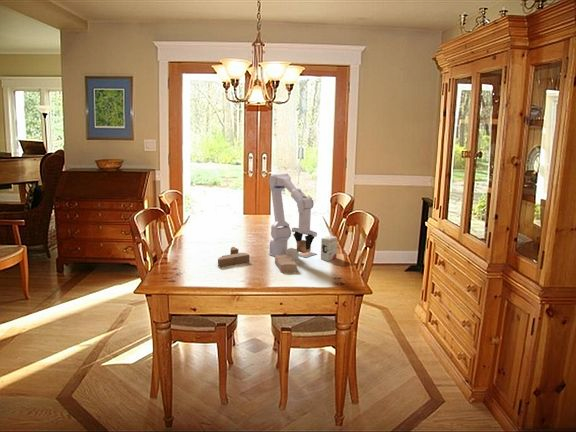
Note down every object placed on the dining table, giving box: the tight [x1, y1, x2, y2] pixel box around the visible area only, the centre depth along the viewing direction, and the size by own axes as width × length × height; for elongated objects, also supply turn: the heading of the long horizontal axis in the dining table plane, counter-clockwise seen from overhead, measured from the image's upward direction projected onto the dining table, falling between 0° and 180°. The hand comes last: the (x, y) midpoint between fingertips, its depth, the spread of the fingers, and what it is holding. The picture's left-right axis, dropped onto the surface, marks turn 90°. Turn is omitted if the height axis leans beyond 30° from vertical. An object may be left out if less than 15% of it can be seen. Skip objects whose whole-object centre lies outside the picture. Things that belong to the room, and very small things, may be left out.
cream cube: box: [285, 247, 300, 261], centre depth 262 cm, size 5×5×5 cm
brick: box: [274, 254, 298, 273], centre depth 247 cm, size 17×8×5 cm, turn 12°
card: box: [299, 251, 317, 259], centre depth 270 cm, size 7×10×1 cm
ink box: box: [320, 235, 338, 262], centre depth 263 cm, size 9×5×12 cm, turn 141°
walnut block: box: [296, 239, 312, 253], centre depth 249 cm, size 5×5×5 cm
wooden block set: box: [217, 246, 251, 268], centre depth 255 cm, size 17×6×18 cm
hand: (303, 248), depth 249 cm, fingers closed on walnut block, 5 cm apart
